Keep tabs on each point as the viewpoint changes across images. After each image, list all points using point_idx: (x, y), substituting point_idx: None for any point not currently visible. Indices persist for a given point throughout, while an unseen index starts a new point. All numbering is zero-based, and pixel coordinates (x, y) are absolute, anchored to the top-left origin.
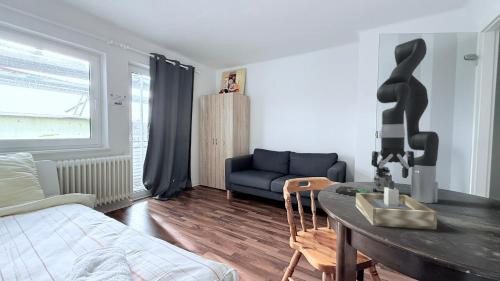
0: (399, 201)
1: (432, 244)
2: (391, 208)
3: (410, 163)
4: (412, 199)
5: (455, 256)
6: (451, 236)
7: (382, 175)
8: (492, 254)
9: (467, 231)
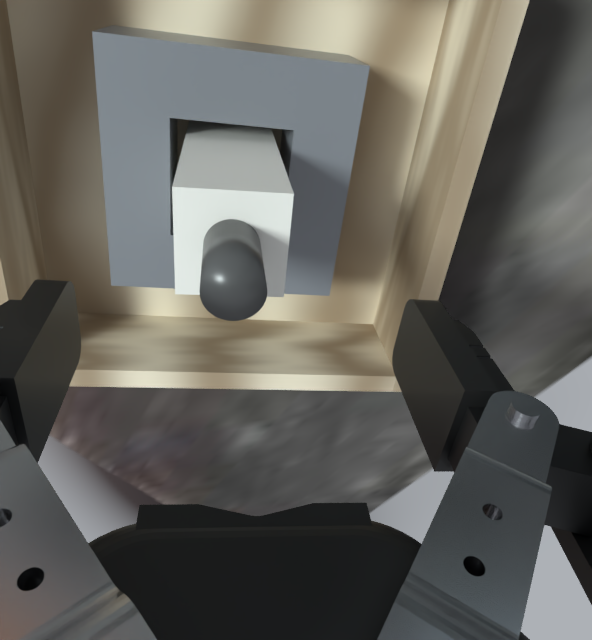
0: (354, 104)
1: (248, 454)
2: None
3: (577, 549)
4: (480, 116)
5: (269, 507)
6: None
7: (69, 379)
8: (405, 482)
9: (517, 331)
